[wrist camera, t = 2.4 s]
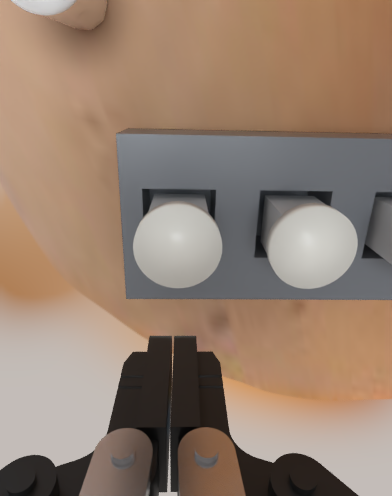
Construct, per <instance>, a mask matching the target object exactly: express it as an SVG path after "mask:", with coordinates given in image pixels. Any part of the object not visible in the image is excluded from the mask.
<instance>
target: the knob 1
mask: <svg viewBox="0 0 392 496" xmlns="http://www.w3.org/2000/svg"><path fill="white" fill-rule="evenodd" d="M133 252H134V257H135V260H136V263H137V265H138V266H139V268H140V270H141V271H142V272H143V273H144V274H145V275H146V276H147V277H148V278H149V279H151V280H152V281H154V282H155V283H157V284H159V285H162V286H165V287H170V288H186V287H191V286H194V285H197V284H199V283H201V282H202V281H204V280H205V279H207V278H208V277H209V276H210V275H211V274H212V273H213V272H214V271H215V269H216V268H217V266H218V264H219V262H220V259H221V255H222V239H221V235H220V232H219V228H218V226H217V224H216V222H215V220H214V219H213V218H212V216H211V215H210V214H209V213H208V209H207V204H206V199H205V195H204V194H154V197H153V200H152V203H151V205H150V208H149V211H148V213H147V214H146V215H145V216H144V217H143V219H142V220H141V222H140V223H139V226H138V228H137V230H136V233H135V236H134V241H133Z"/></svg>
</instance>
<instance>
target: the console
mask: <svg viewBox="0 0 392 496" xmlns="http://www.w3.org/2000/svg"><path fill="white" fill-rule="evenodd" d="M116 140H117V156H118V172H119V189H120V205H121V221H122V237H123V253H124V269H125V285H126V299H318V300H392V265H391V264H390V263H389V262H388V261H386V260H385V259H384V258H382V257H381V256H380V255H379V254H377V253H376V252H375V251H373V250H372V249H371V248H370V247H368V246H367V245H366V244H365V240H366V235H367V231H368V226H369V221H370V217H371V212H372V208H373V203H374V198H375V197H392V134H378V133H328V132H278V131H229V130H179V129H130V128H128V129H126V130H123V131H121V132H119V133H116ZM154 194H204V195H205V199H206V204H207V209H208V213H209V214H210V215H211V216H212V218H213V219H214V220H215V222H216V224H217V226H218V228H219V232H220V235H221V239H222V255H221V259H220V262H219V264H218V266H217V268H216V269H215V271H214V272H213V273H212V274H211V275H210V276H209V277H208V278H207V279H205V280H204V281H202V282H201V283H199V284H197V285H194V286H191V287H186V288H170V287H165V286H162V285H159V284H157V283H155V282H154V281H152V280H151V279H149V278H148V277H147V276H146V275H145V274H144V273H143V272H142V271H141V270H140V268H139V266H138V265H137V263H136V260H135V257H134V252H133V241H134V236H135V233H136V230H137V228H138V226H139V223H140V222H141V220H142V219H143V217H144V216H145V215H146V214H147V213H148V211H149V208H150V205H151V203H152V200H153V197H154ZM265 195H278V196H315V197H316V198H317V199H319V200H320V201H321V202H323V203H324V204H326V205H328V206H331V207H333V208H334V209H336V210H337V211H339V212H340V213H342V214H343V215H344V216H346V217H347V218H348V219H349V220H350V221H351V223H352V224H353V226H354V228H355V230H356V234H357V239H358V246H357V252H356V255H355V258H354V260H353V262H352V264H351V266H350V267H349V268H348V270H347V271H346V272H345V273H344V274H343V275H342V276H341V277H339V278H338V279H337V280H335V281H334V282H332V283H330V284H328V285H325V286H323V287H319V288H314V289H302V288H296V287H293V286H291V285H289V284H287V283H285V282H284V281H282V280H281V279H280V278H279V277H278V276H277V275H276V273H275V271H274V270H273V268H272V266H271V264H270V262H269V260H268V257H267V253H266V251H265V249H264V247H263V245H262V243H261V242H260V241H261V230H262V220H263V210H264V199H265Z"/></svg>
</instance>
